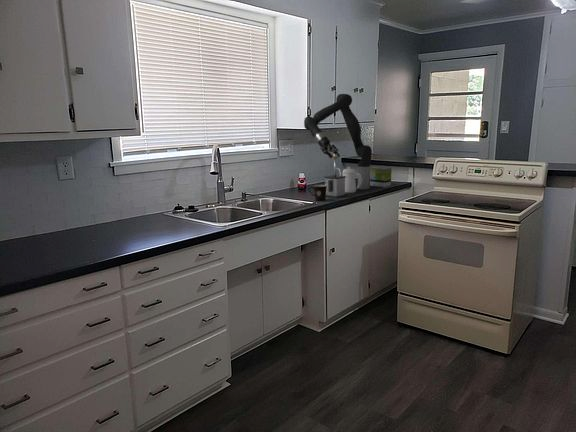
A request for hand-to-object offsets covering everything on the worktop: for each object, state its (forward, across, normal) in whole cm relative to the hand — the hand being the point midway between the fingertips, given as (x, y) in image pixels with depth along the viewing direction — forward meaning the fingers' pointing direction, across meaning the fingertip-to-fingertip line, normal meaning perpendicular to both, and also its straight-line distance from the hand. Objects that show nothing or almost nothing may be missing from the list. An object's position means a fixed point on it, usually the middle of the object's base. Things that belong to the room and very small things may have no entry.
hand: (335, 157), depth 303 cm
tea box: (+20, +61, +19) cm, 67 cm away
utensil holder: (+19, 0, +20) cm, 27 cm away
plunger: (+12, 0, +12) cm, 17 cm away
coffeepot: (+17, +21, +22) cm, 35 cm away
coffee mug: (+20, -19, +20) cm, 34 cm away
